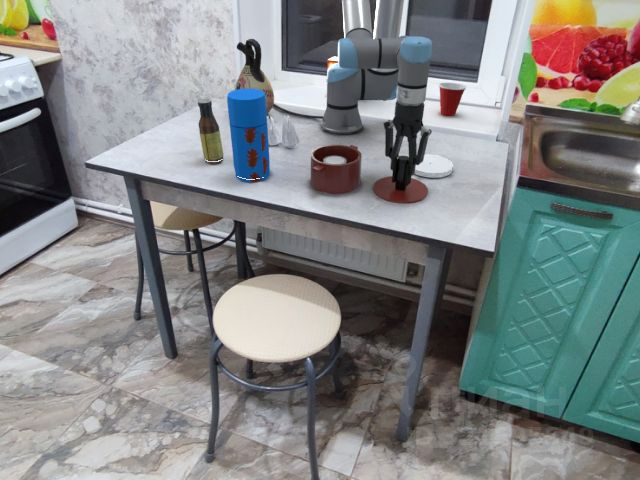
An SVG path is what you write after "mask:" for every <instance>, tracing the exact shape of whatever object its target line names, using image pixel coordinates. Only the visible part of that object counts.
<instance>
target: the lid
mask: <svg viewBox="0 0 640 480" xmlns="http://www.w3.org/2000/svg"><path fill="white" fill-rule="evenodd" d="M397 159H398V163H397V172H396V182H394V183H393V182H392V175H390V176H384V177H382V178H379V179H377V180H376V181H375V182H374V183H373V185H372V191H373V194H374V195H376V196H377V197H378V198H380V199H382V200H384V201H386V202H390V203H394V204H413V203H418V202H421V201H423V200H425V198H426V197H427V196H428V193H429V188H428V186H427V185H426V184H425V183H424V182H422V181H421V180H419V179H416V178H413V177H411V183H410V184H409V185H407V186H404V180H405V172H406V165H407V164H408V163H409V155H399V157H397Z"/></svg>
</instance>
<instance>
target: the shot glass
mask: <svg viewBox="0 0 640 480" xmlns="http://www.w3.org/2000/svg"><path fill="white" fill-rule="evenodd" d="M346 162H347V161H346V159H345V158H344V157H341V156H328V157H326V158H324V159H323V163H327V164H346Z"/></svg>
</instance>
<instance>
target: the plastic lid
mask: <svg viewBox="0 0 640 480" xmlns="http://www.w3.org/2000/svg"><path fill="white" fill-rule="evenodd" d="M453 170H454V164H453V162H452V161H451V160H450V159H449V158H446V157H444V156H441V155H437V154H432V153H431V154H429V153H428V154H427V153H425V155H424V159H423V162H422V163H420V164H419V165H416V167H415V173H414V174H413V175H417V176H419V177H424V178H429V179H430V178H433V179H434V178H435V179H438V178H440V179H441V178H445V177H447V176H450V175H451V174H452V173H453Z"/></svg>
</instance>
